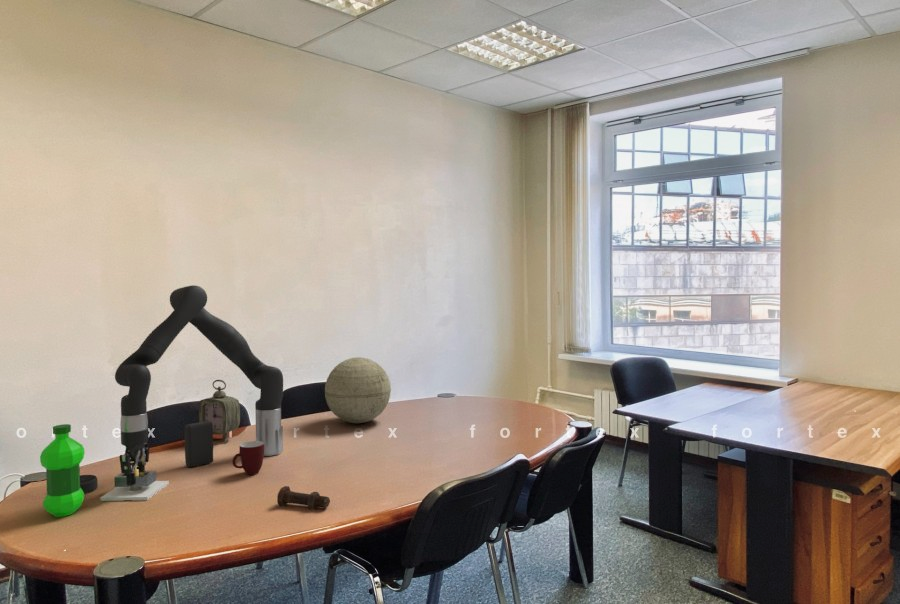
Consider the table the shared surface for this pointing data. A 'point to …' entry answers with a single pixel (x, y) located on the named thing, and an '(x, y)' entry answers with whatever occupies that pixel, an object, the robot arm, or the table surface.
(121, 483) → the steel link
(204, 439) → the dark grey upright slab
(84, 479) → the smart speaker
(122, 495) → the keeper post
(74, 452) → the plastic bottle
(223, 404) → the tabletop clock
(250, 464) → the mug
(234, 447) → the table surface
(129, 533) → the table surface
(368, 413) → the concrete ball
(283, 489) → the bolt
